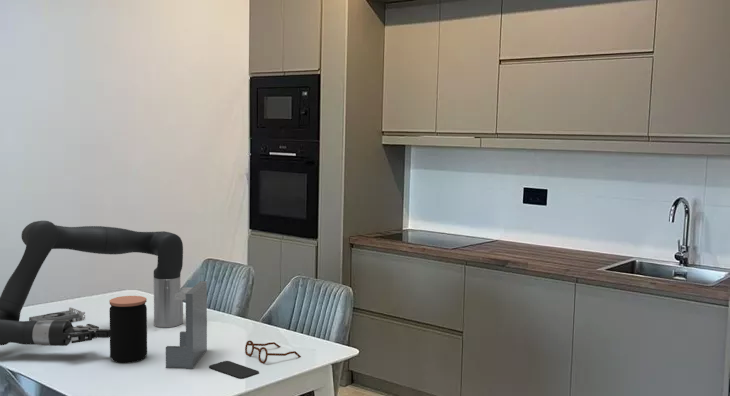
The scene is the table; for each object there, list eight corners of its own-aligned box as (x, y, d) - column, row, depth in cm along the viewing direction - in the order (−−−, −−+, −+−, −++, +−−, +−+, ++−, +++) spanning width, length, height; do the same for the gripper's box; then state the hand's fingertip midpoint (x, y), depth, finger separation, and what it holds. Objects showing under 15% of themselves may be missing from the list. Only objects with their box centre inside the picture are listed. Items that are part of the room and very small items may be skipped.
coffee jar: (154, 355, 210) (154, 297, 208) (129, 365, 200) (128, 305, 199) (128, 350, 214) (127, 294, 213) (102, 360, 205) (101, 301, 203)
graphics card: (71, 306, 258) (85, 311, 250) (72, 316, 258) (85, 321, 250) (24, 314, 246) (37, 319, 238) (25, 324, 246) (37, 330, 238)
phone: (240, 378, 190) (207, 366, 200) (240, 381, 190) (207, 368, 200) (261, 371, 196) (227, 360, 205) (260, 374, 196) (227, 362, 205)
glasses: (244, 355, 213) (244, 339, 213) (280, 348, 221) (280, 332, 221) (265, 366, 203) (265, 349, 203) (302, 358, 211) (302, 342, 211)
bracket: (165, 368, 198) (164, 293, 197) (181, 349, 216) (181, 280, 215) (192, 368, 198) (192, 293, 197) (206, 349, 216) (206, 281, 215)
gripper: (42, 326, 200) (101, 327, 200) (62, 315, 213) (117, 315, 213) (42, 351, 200) (102, 352, 200) (62, 338, 213) (118, 339, 214)
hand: (110, 333), depth 207 cm, fingers closed
